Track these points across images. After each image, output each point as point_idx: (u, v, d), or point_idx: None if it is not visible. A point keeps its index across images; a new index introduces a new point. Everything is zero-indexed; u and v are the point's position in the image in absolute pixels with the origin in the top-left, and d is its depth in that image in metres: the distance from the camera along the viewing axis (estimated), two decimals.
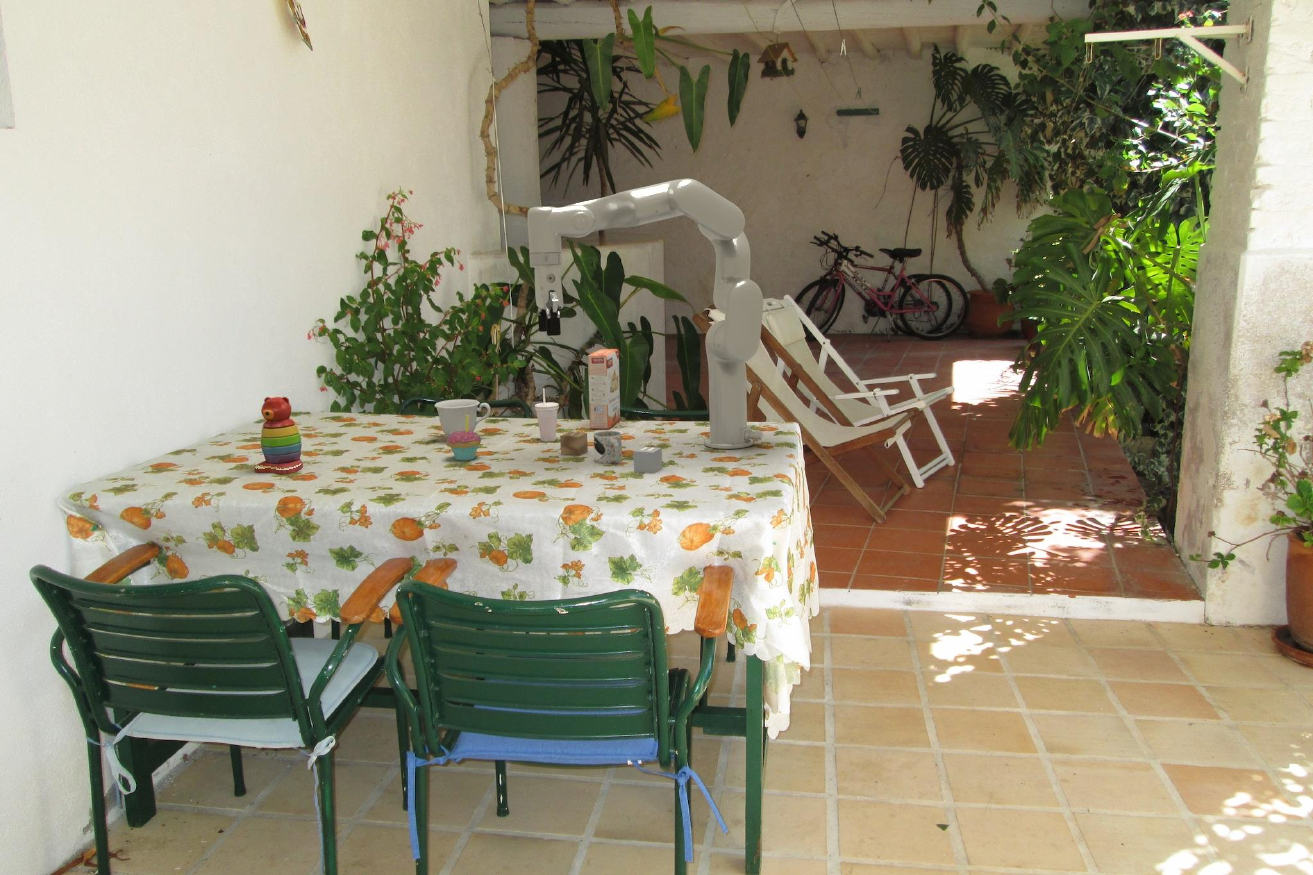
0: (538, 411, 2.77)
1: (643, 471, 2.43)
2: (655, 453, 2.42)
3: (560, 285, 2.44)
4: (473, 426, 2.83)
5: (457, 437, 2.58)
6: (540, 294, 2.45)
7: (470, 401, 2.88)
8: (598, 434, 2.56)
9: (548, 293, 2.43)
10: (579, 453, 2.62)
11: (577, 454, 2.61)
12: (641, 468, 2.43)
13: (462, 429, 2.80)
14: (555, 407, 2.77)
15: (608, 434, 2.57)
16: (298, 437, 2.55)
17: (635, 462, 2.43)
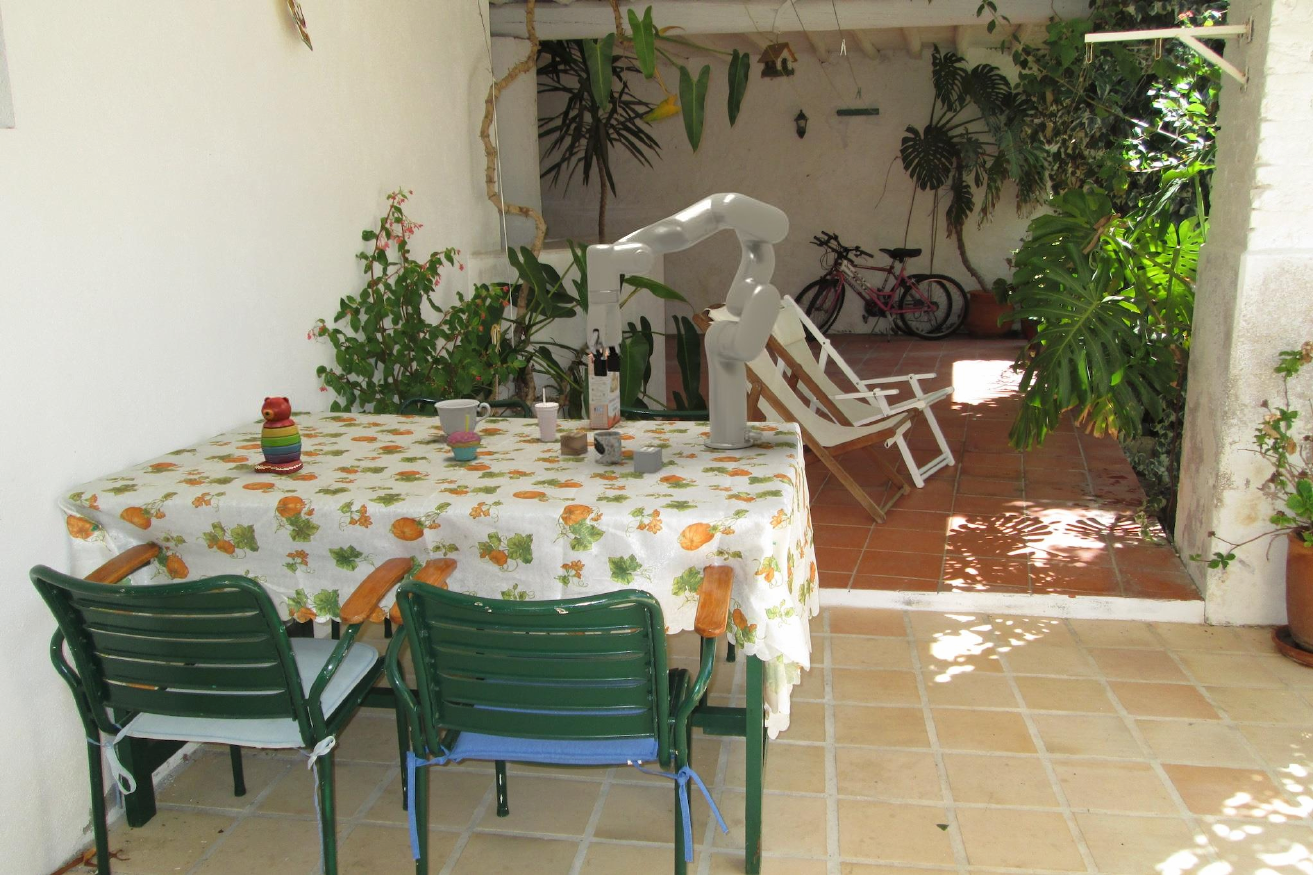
0: (538, 411, 2.77)
1: (643, 471, 2.43)
2: (655, 453, 2.42)
3: None
4: (473, 426, 2.83)
5: (457, 437, 2.58)
6: (619, 329, 2.49)
7: (470, 401, 2.88)
8: (598, 434, 2.56)
9: None
10: (579, 453, 2.62)
11: (577, 454, 2.61)
12: (641, 468, 2.43)
13: (462, 429, 2.80)
14: (555, 407, 2.77)
15: (608, 434, 2.57)
16: (298, 437, 2.55)
17: (635, 462, 2.43)
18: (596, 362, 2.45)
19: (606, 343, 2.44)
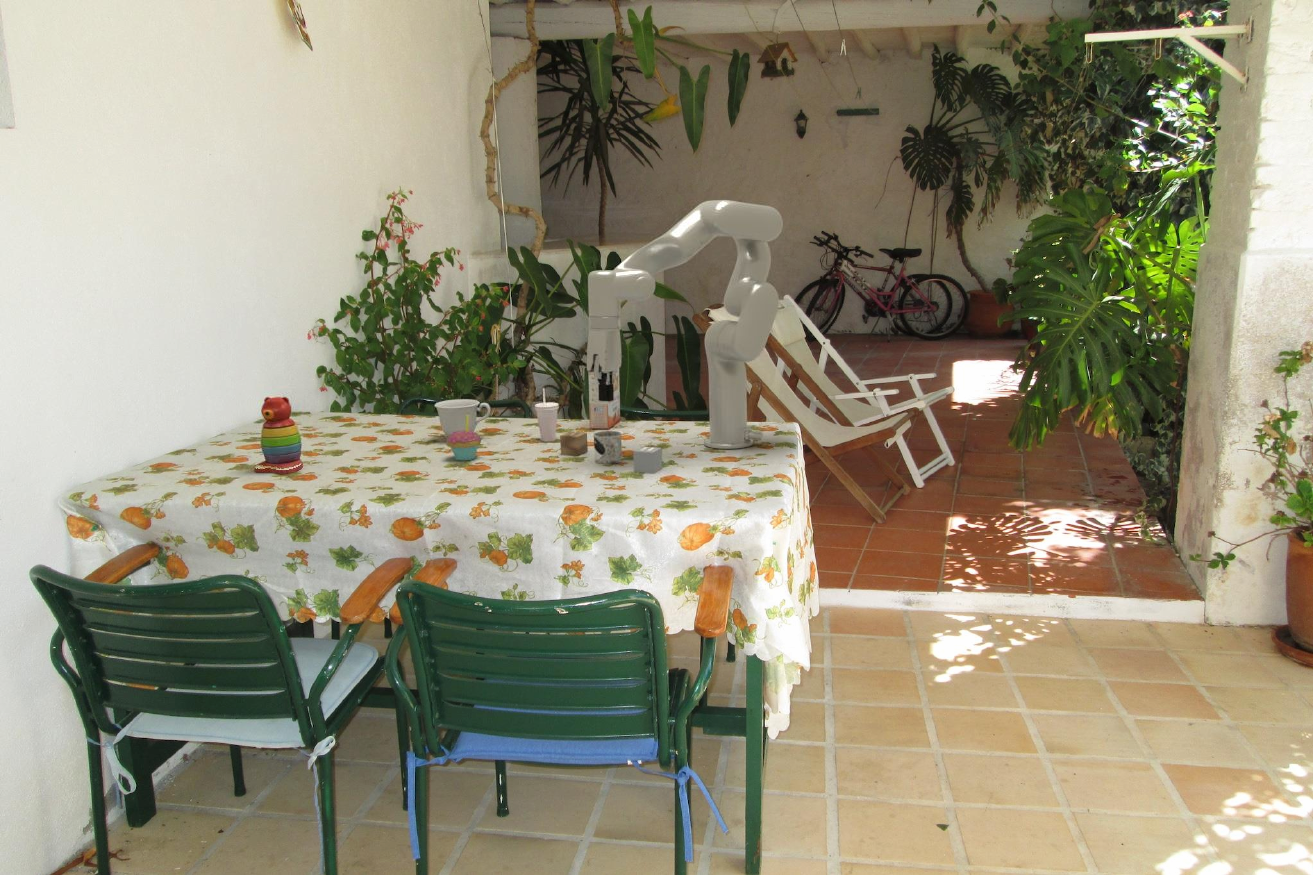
0: (538, 411, 2.77)
1: (643, 471, 2.43)
2: (655, 453, 2.42)
3: None
4: (473, 426, 2.83)
5: (457, 437, 2.58)
6: (619, 354, 2.50)
7: (470, 401, 2.88)
8: (598, 434, 2.56)
9: None
10: (579, 453, 2.62)
11: (577, 454, 2.61)
12: (641, 468, 2.43)
13: (462, 429, 2.80)
14: (555, 407, 2.77)
15: (608, 434, 2.57)
16: (298, 437, 2.55)
17: (635, 462, 2.43)
18: (601, 387, 2.49)
19: (606, 369, 2.45)
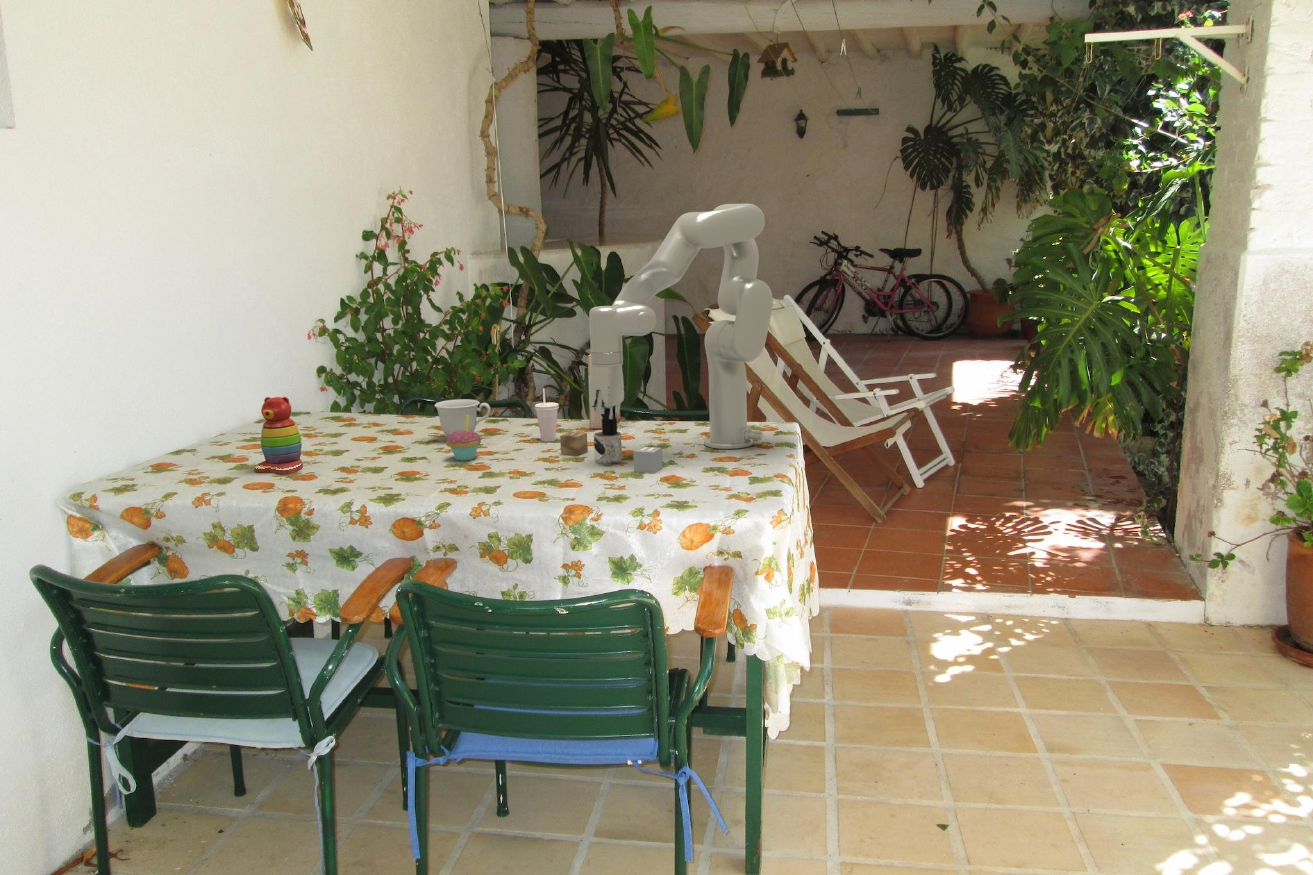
0: (538, 411, 2.77)
1: (643, 471, 2.43)
2: (655, 453, 2.42)
3: None
4: (473, 426, 2.83)
5: (457, 437, 2.58)
6: (622, 388, 2.52)
7: (470, 401, 2.88)
8: (598, 434, 2.56)
9: None
10: (579, 453, 2.62)
11: (577, 454, 2.61)
12: (641, 468, 2.43)
13: (462, 429, 2.80)
14: (555, 407, 2.77)
15: None
16: (298, 437, 2.55)
17: (635, 462, 2.43)
18: (604, 421, 2.51)
19: (608, 404, 2.46)
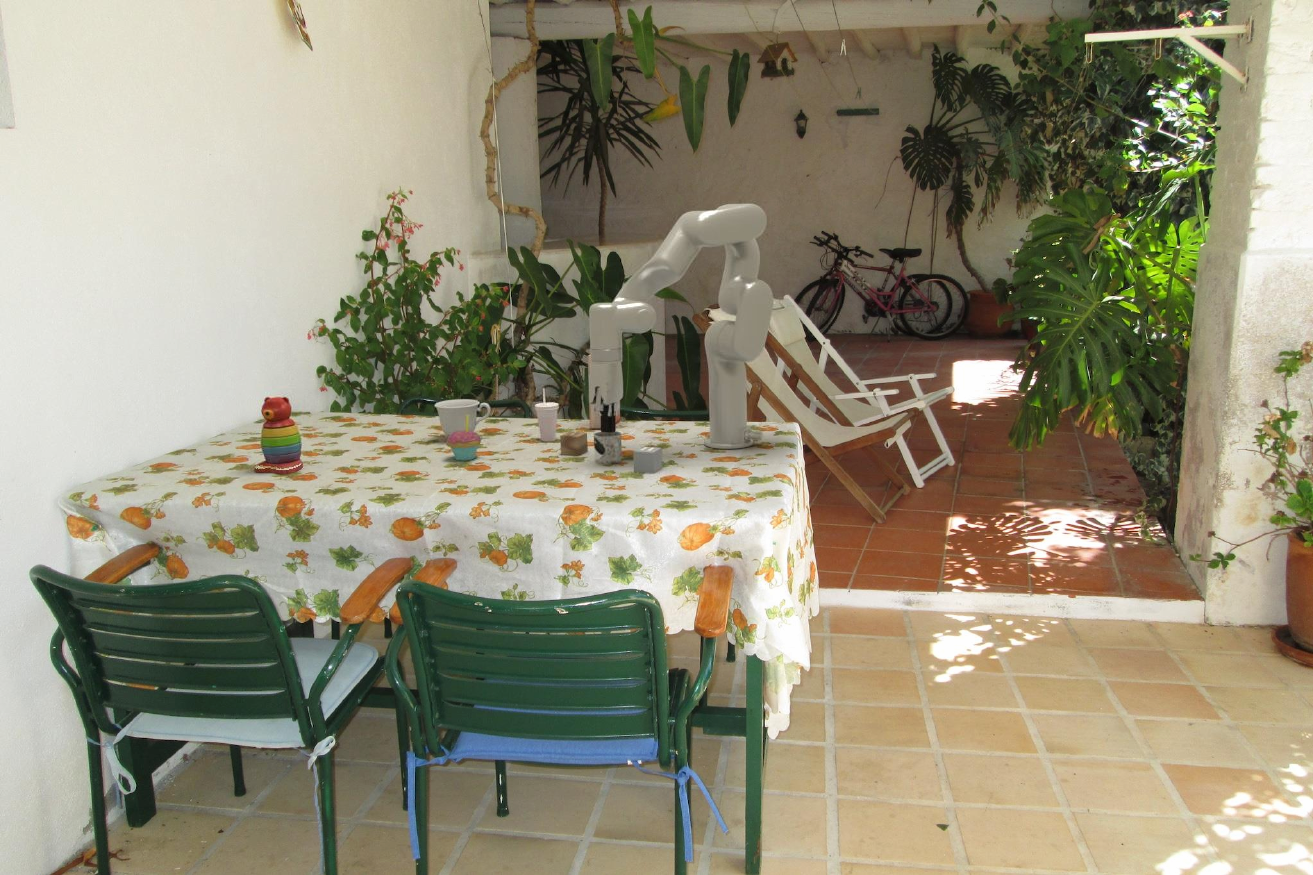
0: (538, 411, 2.77)
1: (643, 471, 2.43)
2: (655, 453, 2.42)
3: None
4: (473, 426, 2.83)
5: (457, 437, 2.58)
6: (621, 386, 2.52)
7: (470, 401, 2.88)
8: (598, 434, 2.56)
9: None
10: (579, 453, 2.62)
11: (577, 454, 2.61)
12: (641, 468, 2.43)
13: (462, 429, 2.80)
14: (555, 407, 2.77)
15: (608, 434, 2.57)
16: (298, 437, 2.55)
17: (635, 462, 2.43)
18: (603, 418, 2.50)
19: (607, 401, 2.46)
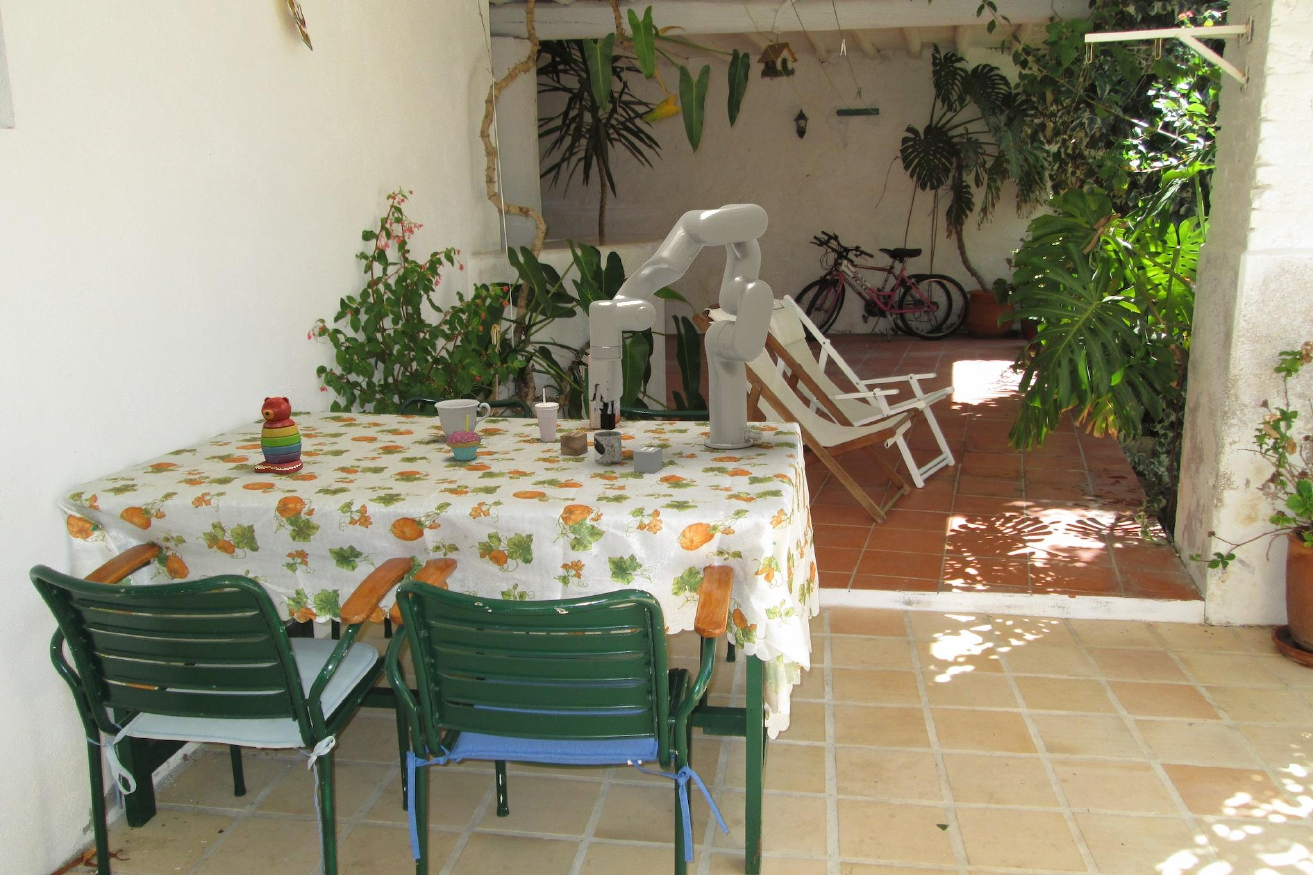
0: (538, 411, 2.77)
1: (643, 471, 2.43)
2: (655, 453, 2.42)
3: None
4: (473, 426, 2.83)
5: (457, 437, 2.58)
6: (620, 383, 2.52)
7: (470, 401, 2.88)
8: (598, 434, 2.56)
9: None
10: (579, 453, 2.62)
11: (577, 454, 2.61)
12: (641, 468, 2.43)
13: (462, 429, 2.80)
14: (555, 407, 2.77)
15: (608, 434, 2.57)
16: (298, 437, 2.55)
17: (635, 462, 2.43)
18: (603, 416, 2.50)
19: (607, 398, 2.46)
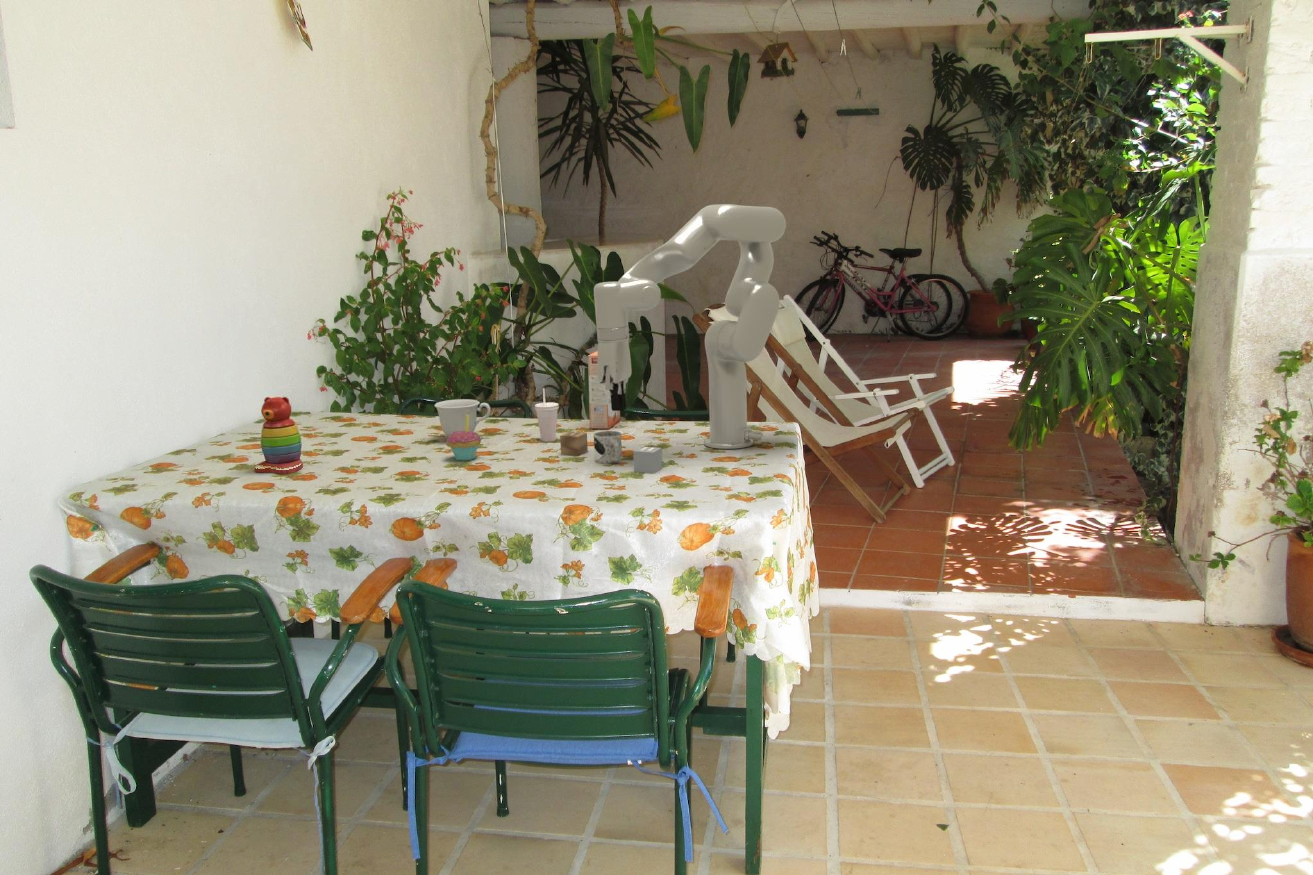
0: (538, 411, 2.77)
1: (643, 471, 2.43)
2: (655, 453, 2.42)
3: None
4: (473, 426, 2.83)
5: (457, 437, 2.58)
6: (629, 363, 2.53)
7: (470, 401, 2.88)
8: (598, 434, 2.56)
9: None
10: (579, 453, 2.62)
11: (577, 454, 2.61)
12: (641, 468, 2.43)
13: (462, 429, 2.80)
14: (555, 407, 2.77)
15: (608, 434, 2.57)
16: (298, 437, 2.55)
17: (635, 462, 2.43)
18: (613, 397, 2.52)
19: (617, 379, 2.47)
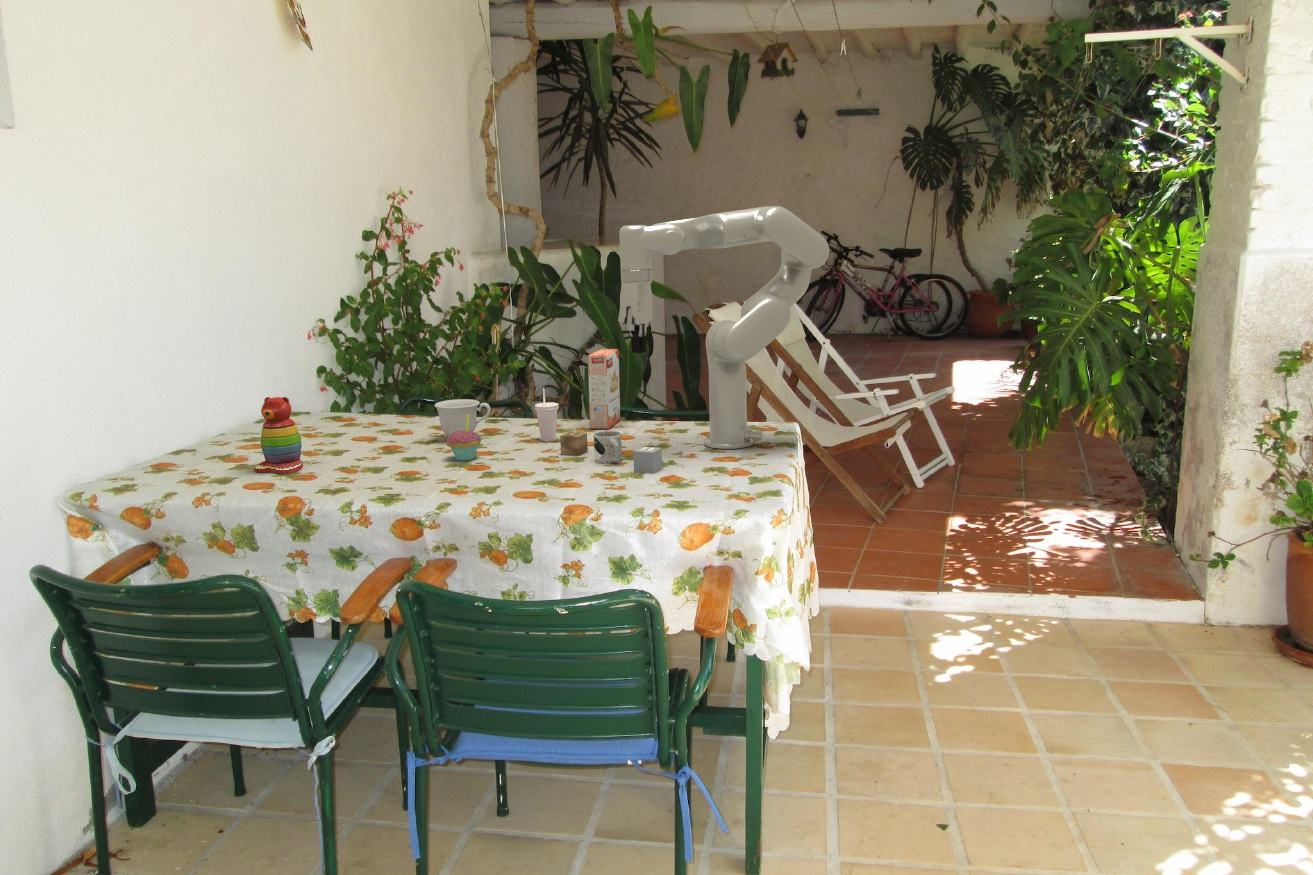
0: (538, 411, 2.77)
1: (643, 471, 2.43)
2: (655, 453, 2.42)
3: None
4: (473, 426, 2.83)
5: (457, 437, 2.58)
6: (650, 307, 2.58)
7: (470, 401, 2.88)
8: (598, 434, 2.56)
9: None
10: (579, 453, 2.62)
11: (577, 454, 2.61)
12: (641, 468, 2.43)
13: (462, 429, 2.80)
14: (555, 407, 2.77)
15: (608, 434, 2.57)
16: (298, 437, 2.55)
17: (635, 462, 2.43)
18: (634, 339, 2.57)
19: (638, 320, 2.52)
